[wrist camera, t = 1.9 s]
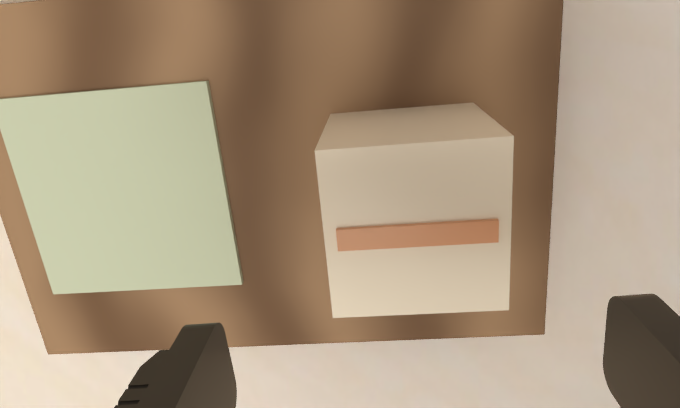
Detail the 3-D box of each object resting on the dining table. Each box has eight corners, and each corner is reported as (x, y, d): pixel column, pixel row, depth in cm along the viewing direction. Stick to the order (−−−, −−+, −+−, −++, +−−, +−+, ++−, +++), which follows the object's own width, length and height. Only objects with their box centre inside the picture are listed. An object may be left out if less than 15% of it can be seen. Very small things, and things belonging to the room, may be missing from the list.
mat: (208, 80, 20) (206, 81, 20) (243, 281, 23) (242, 284, 23) (-4, 98, 21) (-10, 99, 20) (56, 291, 24) (53, 294, 23)
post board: (552, -50, 19) (627, -78, 13) (534, 316, 24) (583, 405, 19) (-40, 12, 21) (-190, 9, 15) (65, 336, 26) (-18, 422, 21)
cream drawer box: (473, 102, 20) (515, 137, 14) (473, 234, 22) (510, 313, 16) (330, 113, 20) (313, 151, 14) (342, 241, 22) (332, 320, 16)
